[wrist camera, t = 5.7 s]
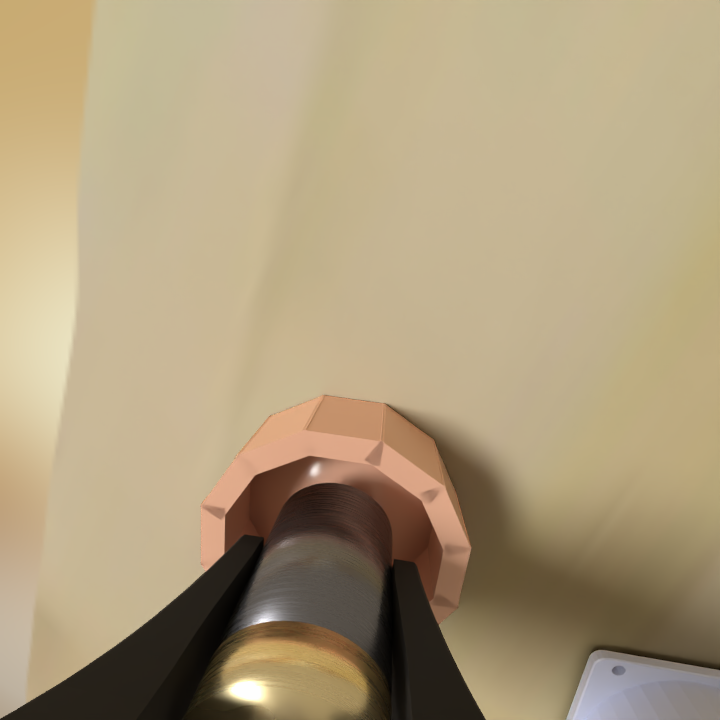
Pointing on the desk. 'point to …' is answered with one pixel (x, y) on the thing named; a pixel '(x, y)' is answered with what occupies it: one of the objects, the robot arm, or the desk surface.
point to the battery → (310, 618)
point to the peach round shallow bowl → (350, 467)
